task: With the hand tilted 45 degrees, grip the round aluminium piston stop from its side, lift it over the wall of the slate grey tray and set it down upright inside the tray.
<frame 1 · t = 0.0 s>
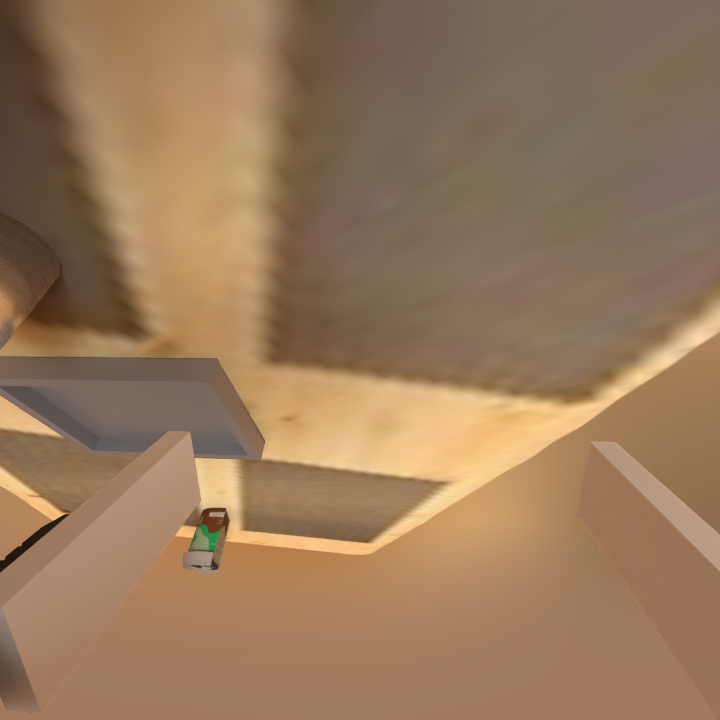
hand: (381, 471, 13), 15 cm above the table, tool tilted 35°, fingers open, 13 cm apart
food container: (212, 512, 78), on the table
slate tray: (147, 404, 42), on the table
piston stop: (9, 248, 26), on the table
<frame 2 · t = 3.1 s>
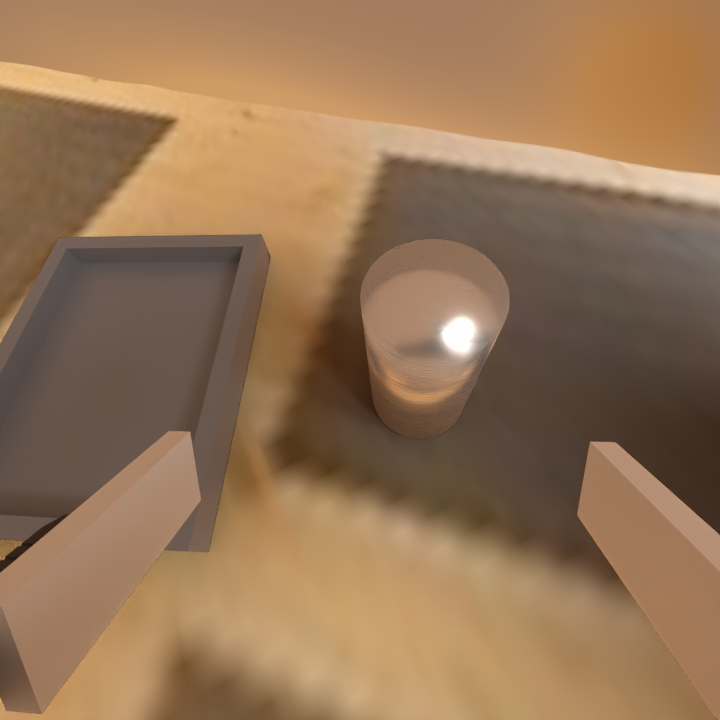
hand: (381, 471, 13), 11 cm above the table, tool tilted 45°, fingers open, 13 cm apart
slate tray: (131, 374, 28), on the table
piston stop: (417, 394, 25), on the table
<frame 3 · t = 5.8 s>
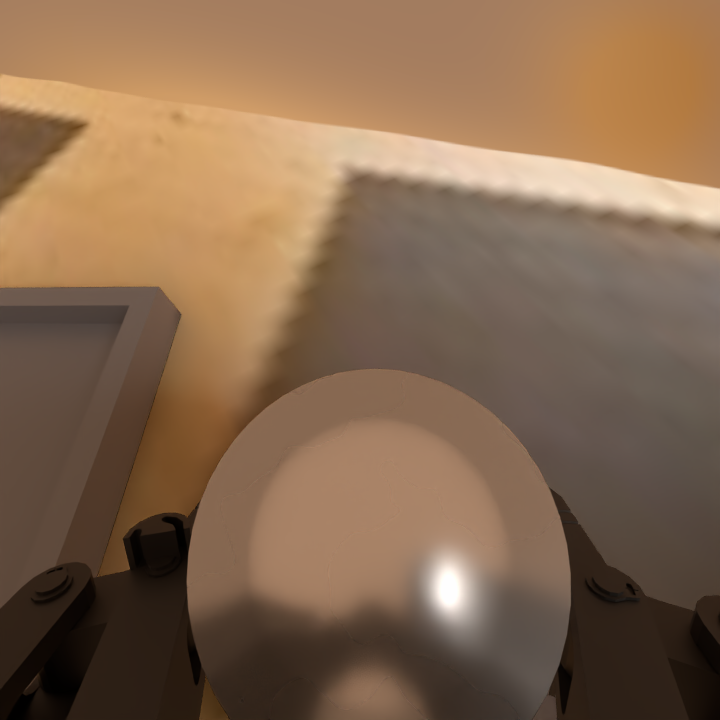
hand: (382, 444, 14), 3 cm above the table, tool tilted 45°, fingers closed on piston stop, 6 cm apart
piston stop: (382, 553, 16), on the table, touching gripper
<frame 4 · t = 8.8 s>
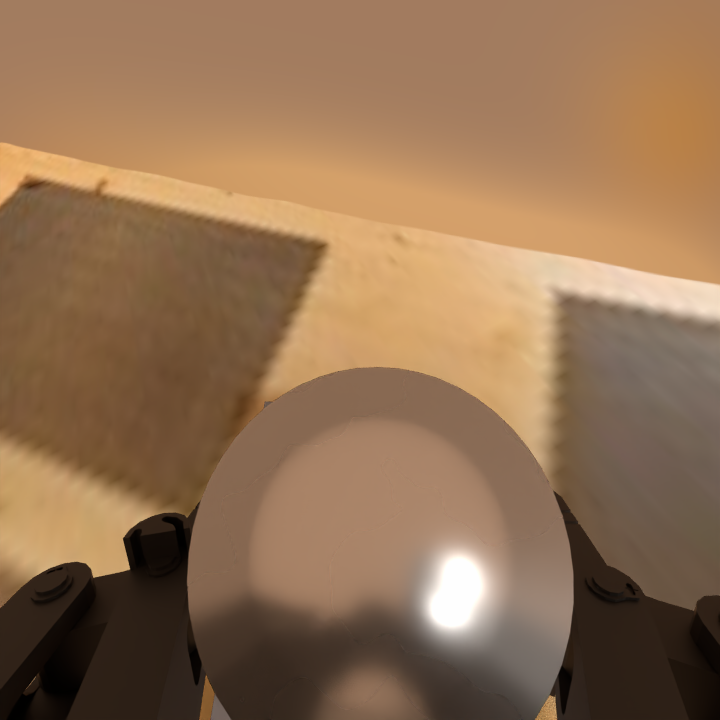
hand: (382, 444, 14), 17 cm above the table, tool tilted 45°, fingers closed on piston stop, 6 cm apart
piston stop: (383, 553, 16), point 13 cm above the table, touching gripper
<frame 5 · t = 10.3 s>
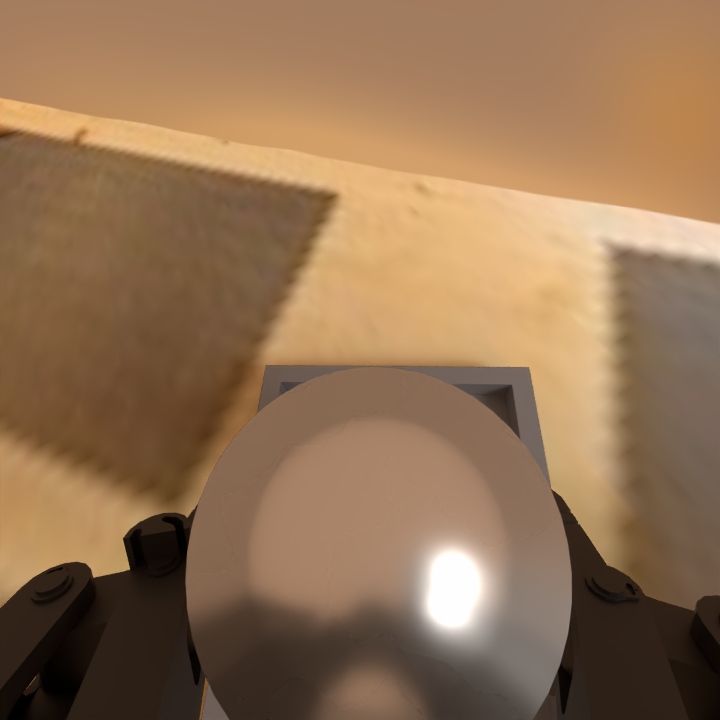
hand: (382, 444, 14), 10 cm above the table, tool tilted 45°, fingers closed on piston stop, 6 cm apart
slate tray: (392, 557, 22), on the table
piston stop: (382, 553, 16), point 7 cm above the table, touching gripper
when the fingers open (5 cm above the table, at t = 11.7 s): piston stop drops 1 cm, resting on slate tray.
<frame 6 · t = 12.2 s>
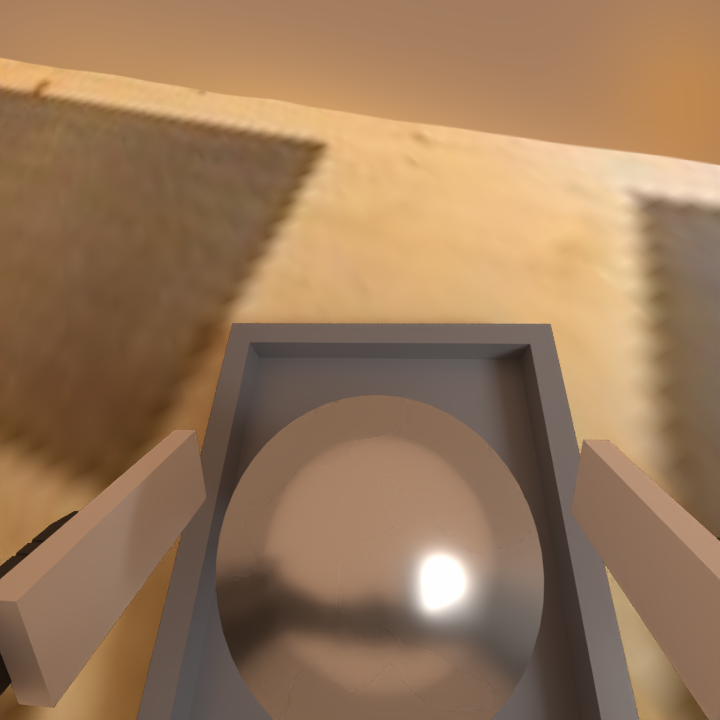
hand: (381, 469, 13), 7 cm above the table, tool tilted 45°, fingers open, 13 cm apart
slate tray: (383, 554, 18), on the table
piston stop: (382, 555, 17), point 1 cm above the table, touching slate tray
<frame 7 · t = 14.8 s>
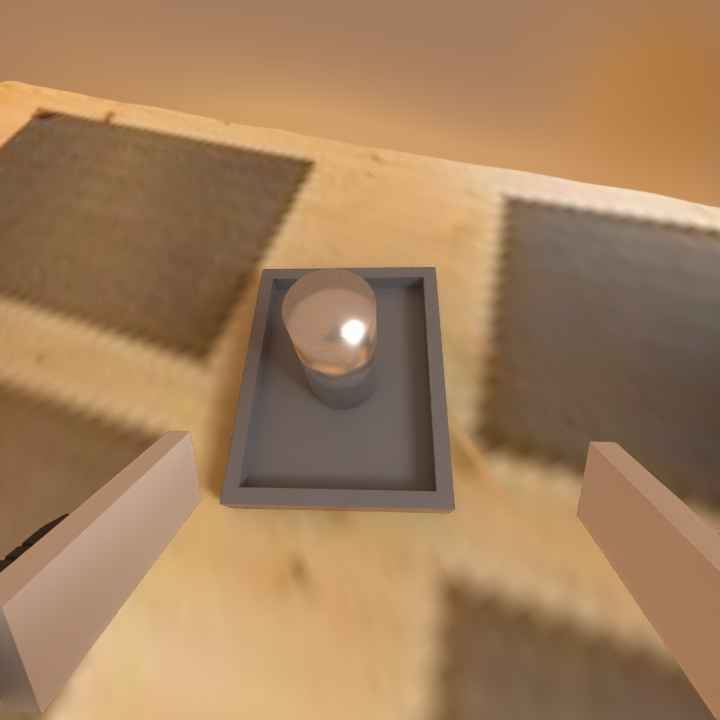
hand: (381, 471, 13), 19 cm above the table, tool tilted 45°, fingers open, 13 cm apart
slate tray: (345, 381, 35), on the table
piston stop: (344, 377, 34), point 1 cm above the table, touching slate tray
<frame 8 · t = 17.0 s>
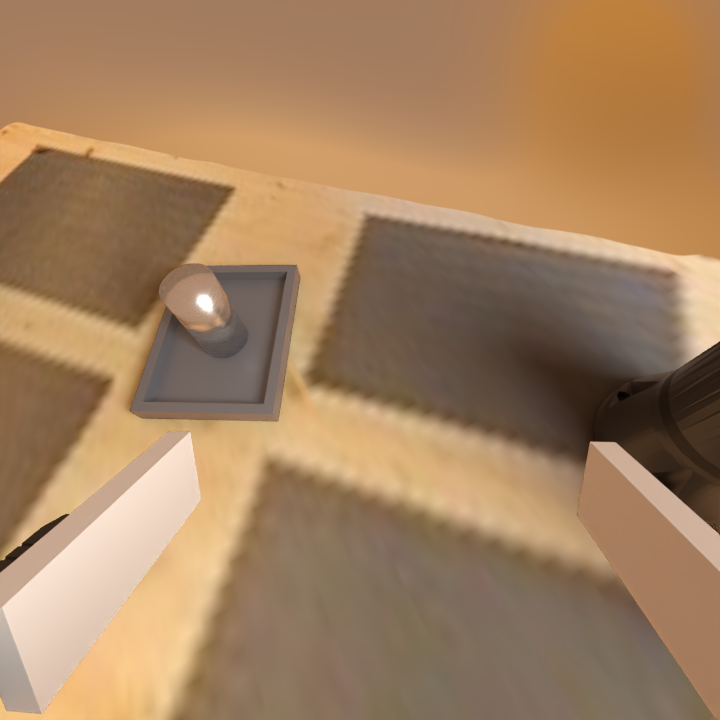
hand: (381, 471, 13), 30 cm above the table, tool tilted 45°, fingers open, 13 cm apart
slate tray: (228, 341, 51), on the table
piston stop: (225, 338, 50), point 1 cm above the table, touching slate tray
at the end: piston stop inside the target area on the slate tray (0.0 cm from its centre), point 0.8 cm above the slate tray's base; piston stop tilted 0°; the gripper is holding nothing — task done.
